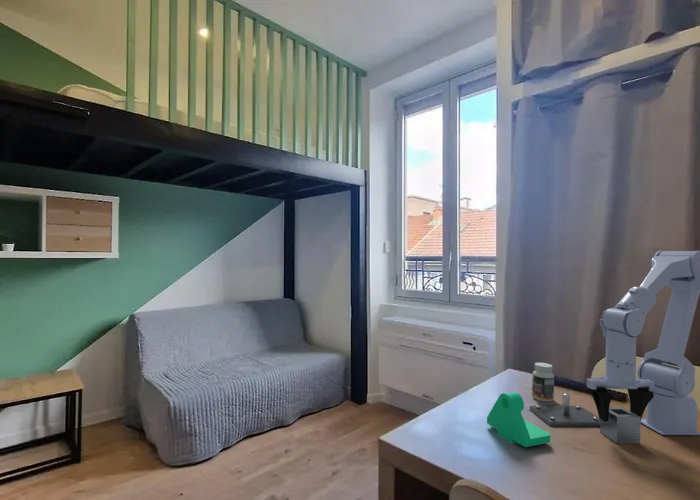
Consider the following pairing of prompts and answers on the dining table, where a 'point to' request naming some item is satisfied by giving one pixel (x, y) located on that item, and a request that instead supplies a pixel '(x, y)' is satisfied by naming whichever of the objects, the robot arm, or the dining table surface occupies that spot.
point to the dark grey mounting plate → (565, 414)
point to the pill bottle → (543, 382)
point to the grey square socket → (621, 426)
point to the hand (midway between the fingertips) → (619, 420)
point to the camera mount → (515, 422)
